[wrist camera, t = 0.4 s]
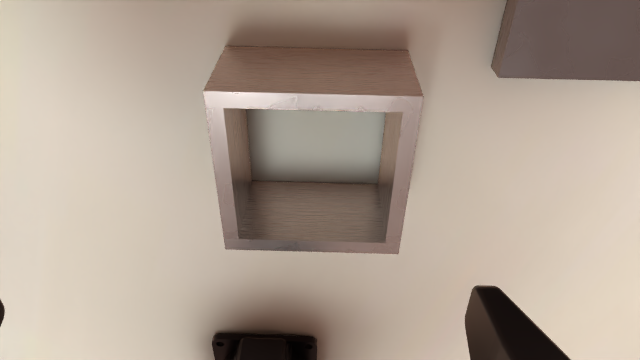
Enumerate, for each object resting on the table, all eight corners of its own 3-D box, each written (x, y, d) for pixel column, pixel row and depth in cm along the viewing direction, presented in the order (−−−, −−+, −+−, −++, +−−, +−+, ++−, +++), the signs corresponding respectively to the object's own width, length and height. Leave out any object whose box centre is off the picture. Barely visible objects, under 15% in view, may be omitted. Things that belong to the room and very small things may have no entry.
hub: (389, 194, 23) (398, 253, 20) (240, 190, 23) (225, 249, 20) (407, 50, 19) (423, 96, 15) (225, 46, 19) (202, 91, 16)
